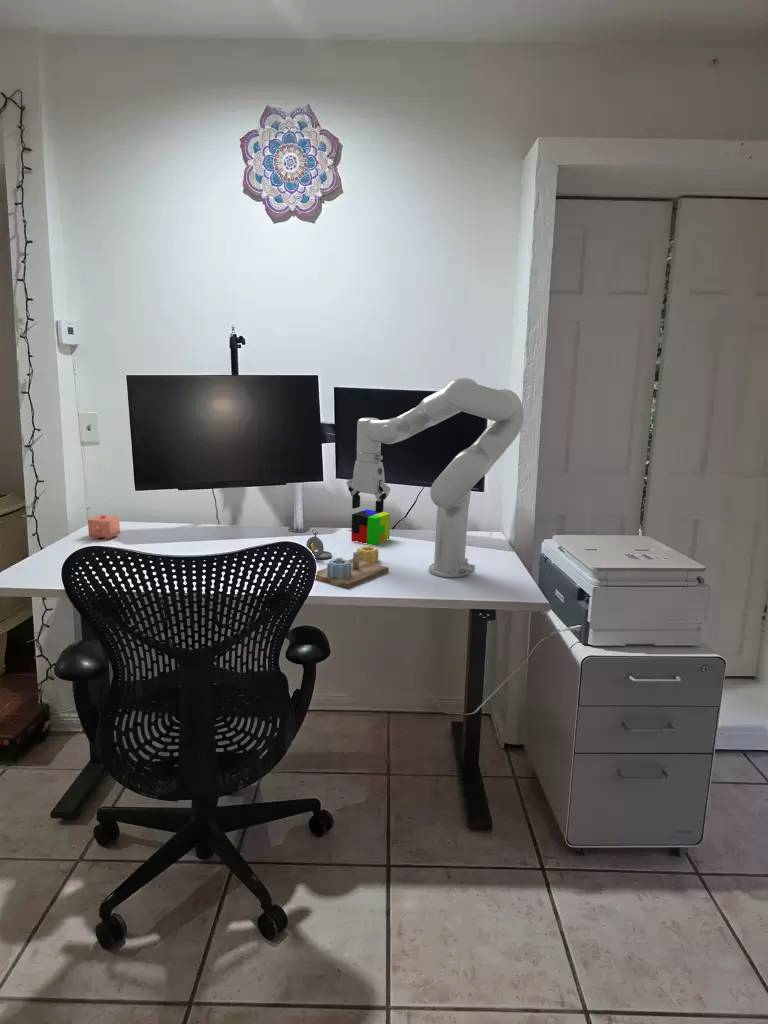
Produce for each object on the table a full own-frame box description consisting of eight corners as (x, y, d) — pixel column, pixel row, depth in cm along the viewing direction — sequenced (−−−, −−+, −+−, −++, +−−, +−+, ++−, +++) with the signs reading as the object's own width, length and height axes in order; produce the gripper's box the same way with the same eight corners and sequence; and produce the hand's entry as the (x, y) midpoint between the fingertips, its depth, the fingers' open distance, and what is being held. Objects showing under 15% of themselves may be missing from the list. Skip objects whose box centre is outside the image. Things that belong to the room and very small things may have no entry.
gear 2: (382, 560, 215) (382, 548, 214) (369, 565, 210) (369, 553, 209) (365, 556, 219) (365, 544, 218) (352, 560, 213) (353, 549, 213)
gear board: (388, 572, 203) (389, 552, 202) (347, 588, 188) (348, 567, 186) (353, 562, 211) (353, 543, 210) (311, 578, 196) (311, 557, 194)
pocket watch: (332, 554, 220) (332, 525, 218) (330, 561, 212) (330, 531, 209) (308, 553, 220) (308, 524, 218) (305, 561, 212) (305, 531, 209)
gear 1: (355, 574, 196) (355, 561, 195) (340, 580, 190) (340, 567, 189) (337, 569, 200) (337, 556, 199) (322, 575, 194) (322, 562, 193)
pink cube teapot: (84, 542, 225) (82, 518, 223) (102, 533, 236) (100, 510, 234) (105, 543, 224) (104, 520, 222) (123, 534, 235) (121, 512, 234)
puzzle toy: (366, 535, 245) (366, 509, 242) (389, 539, 240) (390, 513, 237) (351, 541, 236) (351, 514, 234) (374, 546, 231) (375, 518, 229)
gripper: (397, 459, 205) (395, 512, 209) (355, 453, 215) (354, 504, 219) (382, 461, 199) (381, 516, 203) (340, 455, 210) (339, 507, 214)
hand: (367, 510), depth 211 cm, fingers open, 9 cm apart
